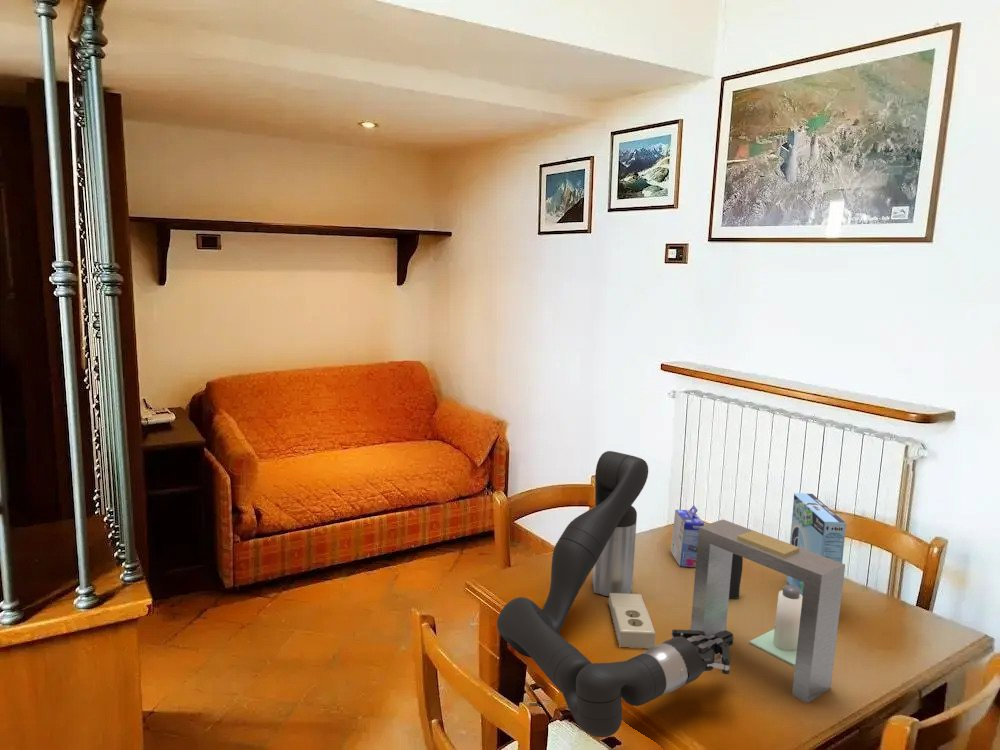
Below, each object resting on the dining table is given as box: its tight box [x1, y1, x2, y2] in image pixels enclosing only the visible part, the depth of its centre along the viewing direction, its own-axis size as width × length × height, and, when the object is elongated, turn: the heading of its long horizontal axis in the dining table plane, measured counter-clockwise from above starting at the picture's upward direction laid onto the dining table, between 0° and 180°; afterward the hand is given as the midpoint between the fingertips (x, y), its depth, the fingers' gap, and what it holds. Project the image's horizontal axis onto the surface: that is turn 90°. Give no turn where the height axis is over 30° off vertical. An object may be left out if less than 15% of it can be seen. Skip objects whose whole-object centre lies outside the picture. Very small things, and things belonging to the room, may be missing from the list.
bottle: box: [773, 584, 803, 651], centre depth 143 cm, size 5×5×12 cm
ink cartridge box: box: [670, 505, 705, 568], centre depth 184 cm, size 10×6×14 cm, turn 0°
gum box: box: [786, 492, 847, 596], centre depth 163 cm, size 20×5×23 cm, turn 176°
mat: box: [748, 628, 797, 667], centre depth 144 cm, size 10×10×1 cm
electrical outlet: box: [608, 593, 656, 650], centre depth 151 cm, size 7×4×18 cm
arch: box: [690, 519, 846, 705], centre depth 136 cm, size 8×26×25 cm, turn 37°
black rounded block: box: [729, 553, 744, 599], centre depth 165 cm, size 7×4×11 cm, turn 87°
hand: (729, 636), depth 131 cm, fingers closed
